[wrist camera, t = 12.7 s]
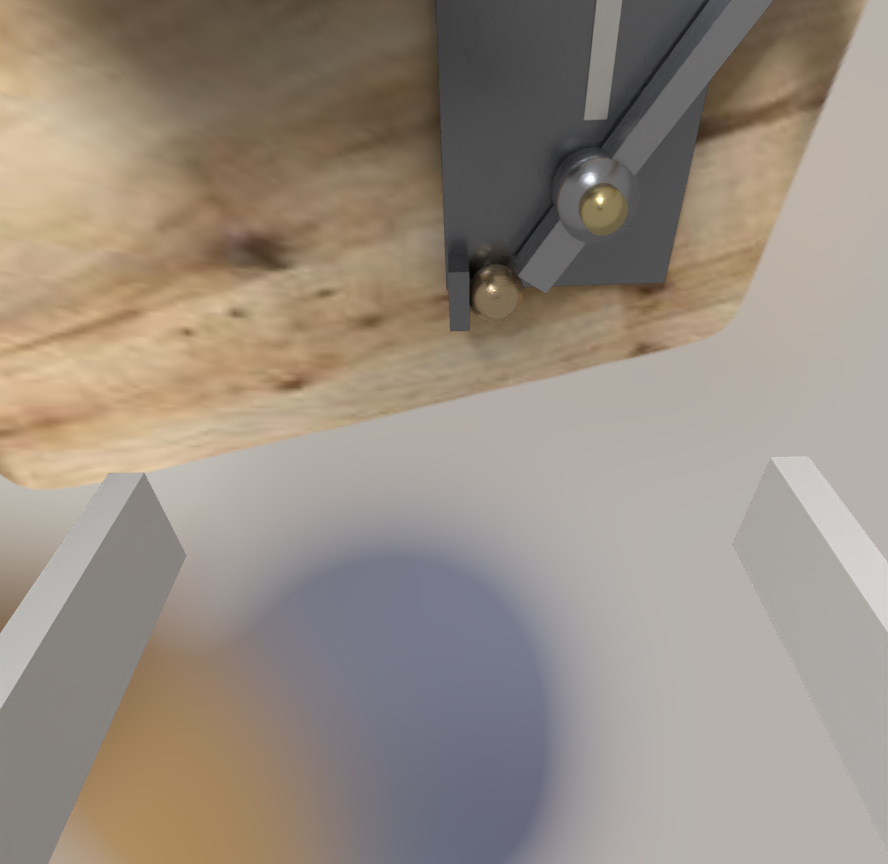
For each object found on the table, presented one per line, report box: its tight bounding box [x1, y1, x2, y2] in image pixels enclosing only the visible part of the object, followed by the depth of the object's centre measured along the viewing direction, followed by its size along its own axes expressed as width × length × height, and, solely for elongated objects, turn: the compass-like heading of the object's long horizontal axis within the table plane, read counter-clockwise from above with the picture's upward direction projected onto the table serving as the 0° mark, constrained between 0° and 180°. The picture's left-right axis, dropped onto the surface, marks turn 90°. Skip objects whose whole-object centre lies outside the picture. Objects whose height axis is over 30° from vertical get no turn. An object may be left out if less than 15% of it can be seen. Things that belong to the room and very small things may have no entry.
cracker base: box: [436, 0, 710, 331], centre depth 34 cm, size 23×17×7 cm
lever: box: [514, 0, 773, 293], centre depth 28 cm, size 25×5×13 cm, turn 148°
